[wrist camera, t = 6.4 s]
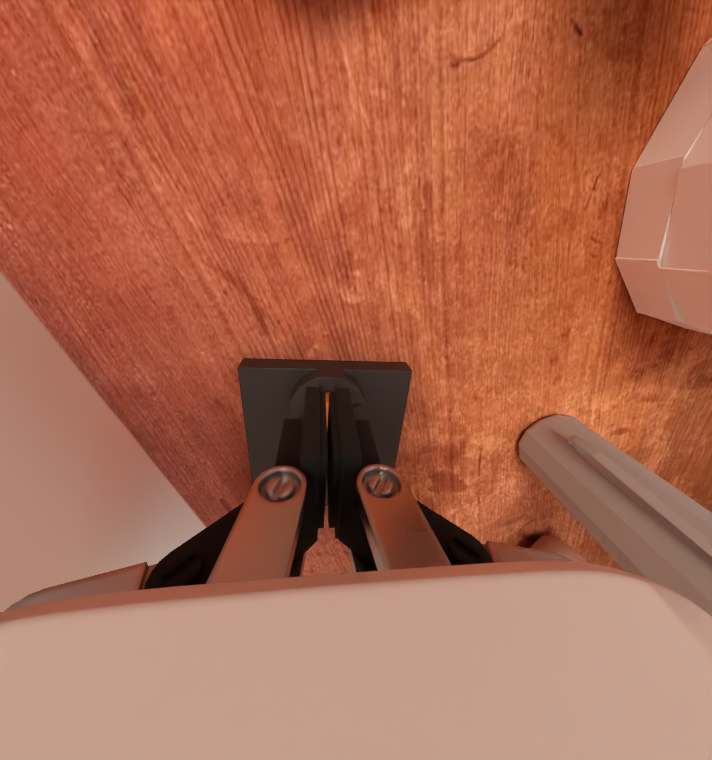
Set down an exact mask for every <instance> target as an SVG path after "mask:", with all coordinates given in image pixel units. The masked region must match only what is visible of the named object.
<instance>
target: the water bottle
mask: <svg viewBox="0 0 712 760" xmlns="http://www.w3.org/2000/svg"><path fill="white" fill-rule="evenodd" d="M519 458H520V459H521V460H522V461H523V462H524V463H525V464H526V465H527V466H528V467H529V468H530V469H531V471H532V472H533V473H534V474H535V475H536V476H537V477H538V478H539V479H540V480H541V481H542V483H543V484H544V485H545V486H546V487H547V488H548V489H549V490H550V491H551V492H552V493H553V494H554V496H555V497H556V498H557V499H558V500H559V501H560V502H561V503H562V504H563V505H564V506H565V507H566V509H567V510H568V511H569V512H570V513H571V514H572V515H573V516H574V517H575V518H576V519H577V520H578V522H579V523H580V524H581V525H582V526H583V527H584V528H585V529H586V530H587V531H588V532H589V533H590V535H591V536H592V537H593V538H594V539H595V540H596V541H597V542H598V543H599V544H600V545H601V546H602V548H603V549H604V550H605V551H606V552H607V553H608V554H609V555H610V556H611V557H612V558H613V559H614V561H615V562H616V563H617V564H618V565H619V566H620V567H621V568H622V569H623V570H624V571H625V572H628V573H631V574H635V575H638V576H641V577H644V578H647V579H649V580H652V581H654V582H657V583H659V584H661V585H663V586H666V587H668V588H670V589H672V590H674V591H675V592H677V593H679V594H681V595H682V596H684V597H686V598H687V599H689V600H690V601H692V602H693V603H695V604H696V605H697V606H699V607H700V608H701V609H703V610H704V611H705V612H707V613H708V614H709V615H710V616H712V513H711V512H710V511H708V510H707V509H705V508H704V507H703V506H701V505H700V504H698V503H697V502H695V501H694V500H692V499H691V498H690V497H688V496H687V495H685V494H684V493H682V492H681V491H679V490H678V489H677V488H675V487H674V486H672V485H671V484H669V483H668V482H666V481H665V480H664V479H662V478H661V477H659V476H658V475H656V474H655V473H653V472H652V471H651V470H649V469H648V468H646V467H645V466H643V465H642V464H640V463H639V462H638V461H636V460H635V459H633V458H632V457H630V456H629V455H627V454H626V453H625V452H623V451H622V450H620V449H619V448H617V447H616V446H614V445H613V444H612V443H610V442H609V441H607V440H606V439H604V438H603V437H601V436H600V435H599V434H597V433H596V432H594V431H593V430H591V429H590V428H588V427H587V426H586V425H584V424H583V423H581V422H580V421H578V420H577V419H575V418H574V417H571V416H563V415H552V416H549V417H546V418H544V419H541V420H538V421H537V422H536V423H534V424H533V425H532V426H531V427H529V428H528V429H527V430H525V432H524V434H523V436H522V438H521V439H520V441H519Z"/></svg>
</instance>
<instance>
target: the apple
mask: <svg viewBox="0 0 712 760" xmlns="http://www.w3.org/2000/svg"><path fill="white" fill-rule="evenodd" d="M530 548H531V549H537V550H542V551H548V552H553V553H556V554H559V555H562V556H564V557H566V558H568V559H569V560H571V561H573V562H583V563H586V562H585V560H584V559H583V558H582V557H581V556H580V555H579V554H578V552H576V551H575V550H574V549H573V548H572V547H571V546H569V545H568V544H566V543H565V542H563V541H562V540H560V539H558V538H555V537H552V536H542V537H540V538H539V539H537V540H536V541H535V542H534V544H533V545H532V546H531V547H530Z"/></svg>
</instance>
